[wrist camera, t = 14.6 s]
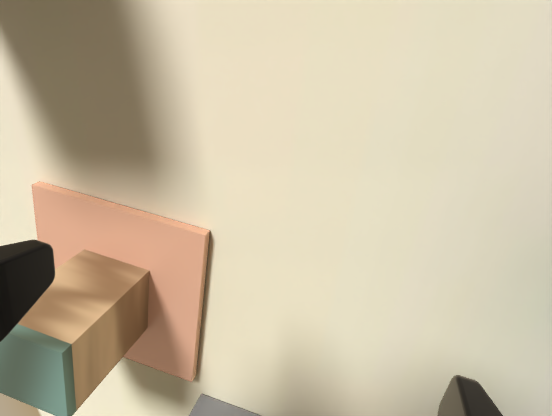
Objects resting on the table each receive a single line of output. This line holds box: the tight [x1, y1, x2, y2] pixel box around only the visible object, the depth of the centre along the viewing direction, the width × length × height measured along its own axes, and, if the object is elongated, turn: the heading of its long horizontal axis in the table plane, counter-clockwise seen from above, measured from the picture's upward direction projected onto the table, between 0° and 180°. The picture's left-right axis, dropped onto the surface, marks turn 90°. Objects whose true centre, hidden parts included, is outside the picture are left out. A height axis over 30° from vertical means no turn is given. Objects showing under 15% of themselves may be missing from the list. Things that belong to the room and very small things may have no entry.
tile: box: [32, 181, 210, 382], centre depth 26 cm, size 11×11×1 cm
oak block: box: [0, 249, 149, 416], centre depth 23 cm, size 4×4×7 cm
